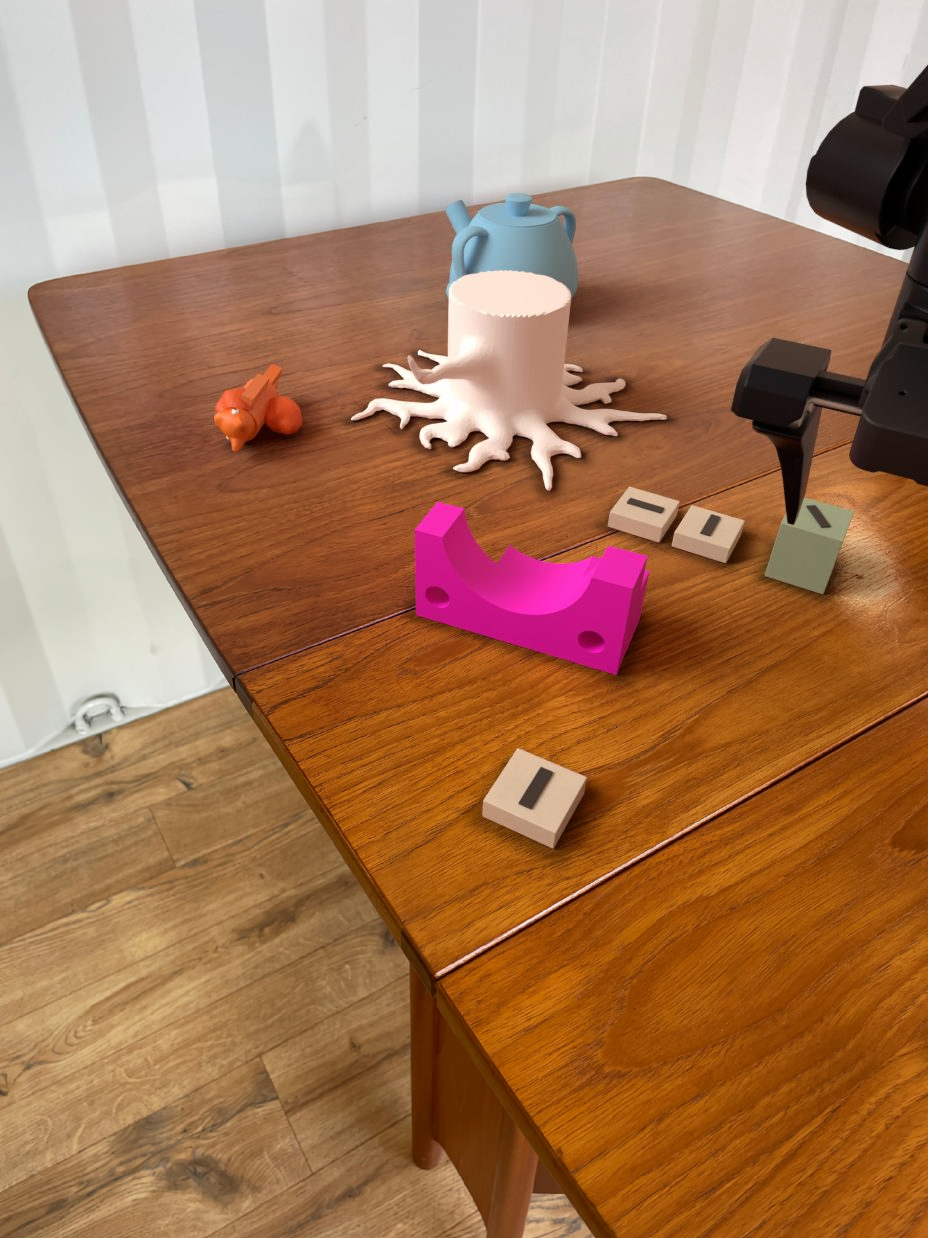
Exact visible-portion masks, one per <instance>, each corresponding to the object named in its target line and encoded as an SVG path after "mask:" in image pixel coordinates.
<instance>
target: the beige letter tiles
mask: <svg viewBox="0 0 928 1238" xmlns="http://www.w3.org/2000/svg"><path fill="white" fill-rule="evenodd" d="M680 504H681V502H680V500H678V499H674V498H670V497H666V496H663V495H660V494H656V493H654V492H649V491H647V490H643V489H640V488H636V487H633V486H628V487H627V489H626V490H625V491H624V493H623V494H622V495H621V497H620V498H619V499H618V501H617V502H616V503H615V504H614V506H613V507H612V508H611V510H610V511H609V516H608V522H607V528H611V529H613V530H618V531H619V532H624V533H626V534H630V535H634V536H635V537H636V536H637V537H640V538H642V539H645V540H649V541H652V542H655V543H660V542H661V541H662V540H663V538H664V536H665V535H666V534H667V532H668V530H669V529H670V527H671V525H672V524H673V522H674V521H675V520H676V518H677V517H678V513H679V508H680ZM745 523H746V521H745V520H744V519H741V518H738V517H734V516H730V515H727V514H723V513H721V512H717V511H714V510H710V509H708V508H707V509H706V508H703V507H699V506H697V505H693V504H692V505H691V506H690V507H689V509H688V510H687V512H686V513H685V515H684V516H683V518H682V520H681V522H680V523H679V524H678V525H677V527H676V529H675V531H674V533H673V537H672V542H671V547H672V548H674V549H675V548H676V549H678V550H681V551H684V552H687V553H691V554H694V555H698V556H700V557H704V558H707V559H711V560H714V561H717V562H720V563H722V564H727V562H728V561H729V559H730V558H731V556H732V553H733V551H734V550H735V547H736V546H737V544H738V542H739V540H740V538H741V536H742V533H743V530H744V526H745Z"/></svg>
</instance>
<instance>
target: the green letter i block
mask: <svg viewBox="0 0 928 1238" xmlns="http://www.w3.org/2000/svg"><path fill="white" fill-rule="evenodd" d="M854 515H855V511H854V510H851V509H847V508H844V507H840V506H838V505H833V504H830V503H827V502H824V501H823V502H822V501H819V500H816V499H812V498H809V497H806V496H805V497H804V500H803V503H802V506H801V509H800V512H799V515H798V517H797V520H796V522H795V524H794V525H791V524H788V523H787V516H786V513H785V514H784V516H783V518H782V520H781V522H780V526H779V527H778V531H777V534H776V538H775V541H774V543H773V546H772V547H773V548H772V550H771V554H770V557H769V560H768V563H767V566H766V569H765V573H764V577H766V578H769V579H772V580H776V581H779V582H781V583H784V584H785V583H786V584H789V585H791V586H795V587H798V588H801V589H805V590H808V591H811V592H813V593H817V594H820V595H824V594H825V591H826V590H827V586H828V583H829V581H830V578H831V575H832V573H833V570H834V567H835V565H836V562H837V559H838V557H839V554H840V551H841V549H842V546H843V544H844V541H845V539H846V535H847V533H848V530H849V528H850V524H851V522H852V520H853V516H854Z"/></svg>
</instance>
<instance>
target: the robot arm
mask: <svg viewBox="0 0 928 1238" xmlns="http://www.w3.org/2000/svg"><path fill="white" fill-rule="evenodd" d="M805 195H806V199H807V202H808V205H809V207H810V209H812V211H813V213H815V215H817V216H818V217H820V218H822V219H823V220H826V221H827V222H829V223H832V224H834V225H837V226H839V227H841V228H843V229H845V230H847V231H850V232H851V233H854V234H857V235H859V236H861V237H863V238H865V239H868V240H870V241H872V242H874V243H876V244H878V245H881V246H883V247H885V248H887V249H891V250H896V251H906V250H909V249H912V248H913V250H912V253H911V255H910V259H909V262H908V265H907V269H906V271H905V275H904V277H903V280H902V283H901V286H900V289H899V293H898V296H897V298H896V302H895V305H894V307H893V310H892V313H891V317H890V319H889V323H888V326H887V329H886V332H885V334H884V338H883V341H882V344H881V347H880V350H879V351H878V352H877V353H876V354H875V356H874V358H873V359H872V361H871V364H870V367H869V369H868V372H867V376H866V379H864V378H861V377H856V376H852V375H846V374H842V373H838V372H832V371H828V369H829V366H830V362H831V356H832V349H830V348H826V347H825V348H824V347H820V346H816V345H811V344H807V343H801V342H797V341H791V340H786V339H782V338H777V337H772V338H770V339H769V340H767V341H766V342H763V343H762V344H761V345H759V347H758V348H757V349H756V350H755V352H754V353H753V355H752V356H751V357H750V359H749V360H748V361H747V363H746V364H745V365H744V366H743V368H742V369H741V371H740V374H739V377H738V379H737V382H736V384H735V388H734V393H733V399H732V401H731V407H730V412H732V413H733V414H734V415H735V416H736V417H738V418H742V419H747V420H751V428H752V430H753V431H754V432H755V433H757V434H759V435H760V434H761V435H764V436H765V437H767V439H768V440H769V441H770V442H771V443H772V445H773V446H774V448H775V451H776V454H777V458H778V462H779V465H780V470H781V471H780V472H781V478H782V487H783V497H784V506H785V507H784V508H785V514H786V516H787V523H788V524H791V525H794V524H795V522H796V520H797V517H798V515H799V512H800V509H801V506H802V503H803V500H804V497H805V498H806V493H807V488H808V484H809V483H808V482H809V478H810V474H811V473H810V472H811V468H812V464H813V458H814V453H815V447H816V441H817V437H818V432H819V426H820V422H821V421H820V420H821V417H822V411H823V409H826V410H831V411H835V412H840V413H843V414H848V415H852V416H856V417H859V420H858V423H857V427H856V429H855V433H854V436H853V439H852V443H851V446H850V450H849V453H848V457H849V460H850V462H851V464H852V465H854V466H855V467H856V468H857V469H859V470H862V471H865V472H868V473H877V472H879V473H884V474H888V475H891V476H896V477H901V478H904V479H909V480H912V481H914V483H916V484H917V485H920V486H923V487H928V64H927V65H926V66H925V67H924V68H923V69H922V70H921V72H919V74H918V75H917V77H915V78H914V80H913V81H912V82H911V83H910V85H909V86H908V87H907V88H906V87H904V86H900V85H897V84H879V85H878V84H877V85H863V86H862V87H861V88H860V90H859V92H858V97H857V100H856V104H855V108H854V111H852V112H850V113H849V114H848V115H846V116H845V117H842V119H840V120H839V121H838V122H837V123H836V124H835V125H834V126H832V128H831V129H830V130H829V131H828V133H826V135H825V137H824V138H823V139H822V141H821V143H820V144H819V146H818V148H817V150H816V153H815V154H814V155H812V156H811V158H810V160H809V163H808V167H807V169H806V178H805Z"/></svg>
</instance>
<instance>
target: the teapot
mask: <svg viewBox="0 0 928 1238" xmlns="http://www.w3.org/2000/svg"><path fill="white" fill-rule="evenodd" d="M504 200H505V201H504V202H498V203H497V202H496V203H492V204H488V205H486V206H483V207H482V208H481V209H479V210H478V211H477V213H476V214H475V215H474V217H473V218H472V216H471V214H470V212H469V210H468V208H467V206H466V204H465V202H464V200H463V199H459V200H455V201H454V202H452V203H450V204H449V205H447V206H446V208H445V209H444V212H445V214H446V216H447V218H448V220H449V222H450V224H451V226H452V228H453V230H454V233H455V234H456V235H455V237H454V238H453V241H452V245H451V258H452V260H451V263H450V269H449V281H448V284H447V285H446V289H445V294H446V297H447V299H448V300H449V287H450V286H451V284H453V282H454V281H457V280H458V279H459V278H461V277H463V276H465V275H468V274H477V273H480V272H487V271H495V270H496V271H500V270H502V271H505V270H507V271H510V270H511V271H518V272H521V271H524V272H526V273H530V272H531V273H533V274H537V275H545V276H548V277H551V278H553V279H555V280H556V281H558V282H560V283H562V284H563V285H565V286H566V287H567V288H568V289H569V290H570V292H571V299H573V297H574V296H575V294H576V292H577V290H578V287H579V269H578V262H577V256H576V252H575V249H574V246H573V242H574V238H575V234H576V230H577V218H576V215H575V213H574V212H573V211H572V210H571V209H570V208H568V207H566V206H562V205H554V206H551V207H550V208H548V207H547V206H543V205H540V204H535V203H532V202H533V197H532V196H531V195H529V194H527V193H524V192H523V193H521V192H513V193H512V192H511V193H508V194H506V195H504ZM561 216H563V221H564V222H563V223H562V221H561V219H560V218H559V217H561Z"/></svg>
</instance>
